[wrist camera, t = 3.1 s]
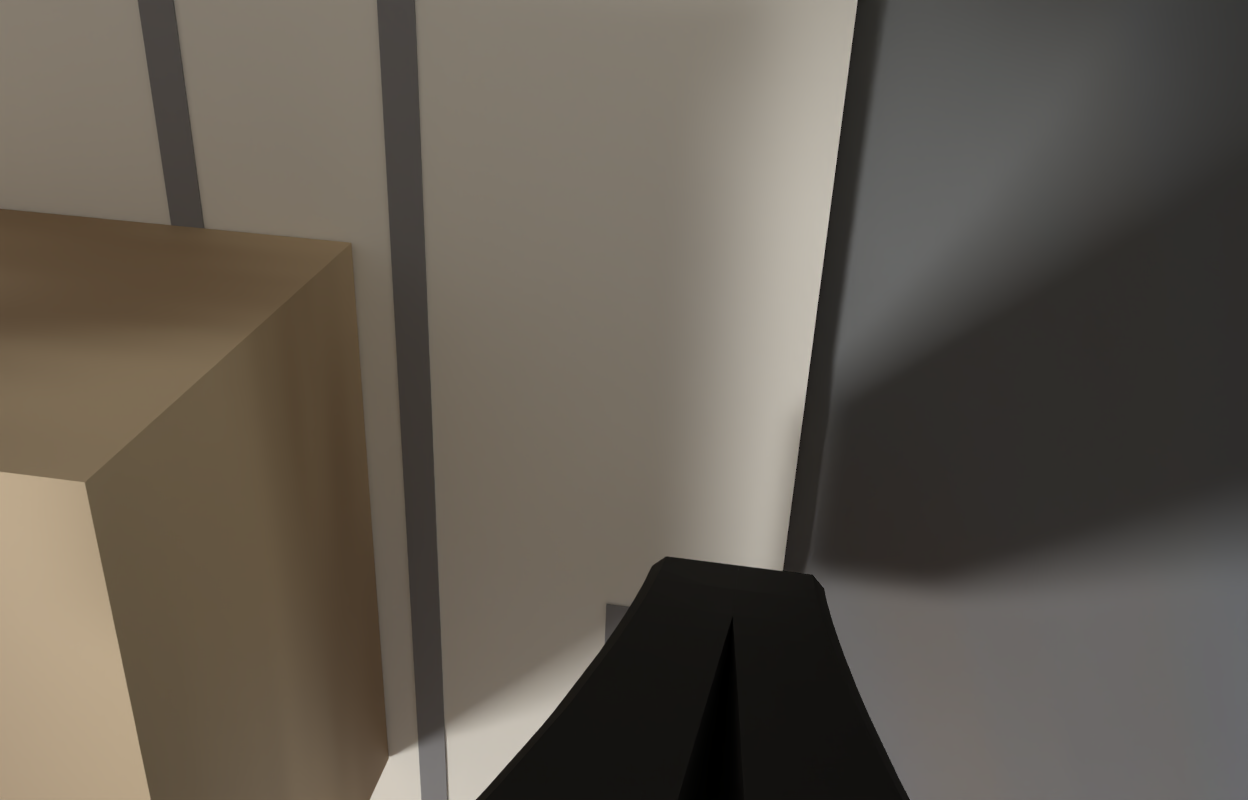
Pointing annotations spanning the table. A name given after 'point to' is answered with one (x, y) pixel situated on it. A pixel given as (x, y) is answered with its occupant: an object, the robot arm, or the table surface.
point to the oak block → (183, 517)
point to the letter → (493, 285)
